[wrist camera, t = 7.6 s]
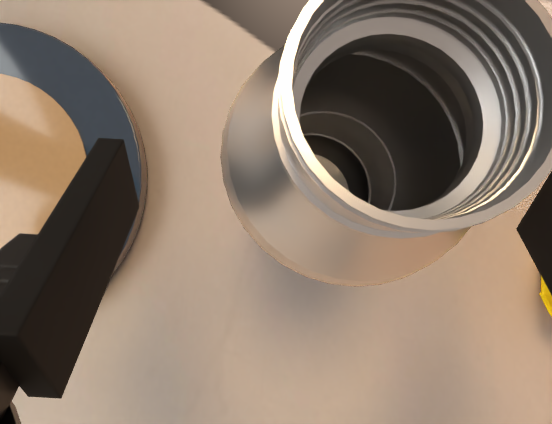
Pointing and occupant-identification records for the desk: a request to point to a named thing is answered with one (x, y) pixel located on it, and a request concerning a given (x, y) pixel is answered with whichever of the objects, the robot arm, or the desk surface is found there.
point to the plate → (54, 128)
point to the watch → (546, 296)
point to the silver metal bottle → (390, 132)
